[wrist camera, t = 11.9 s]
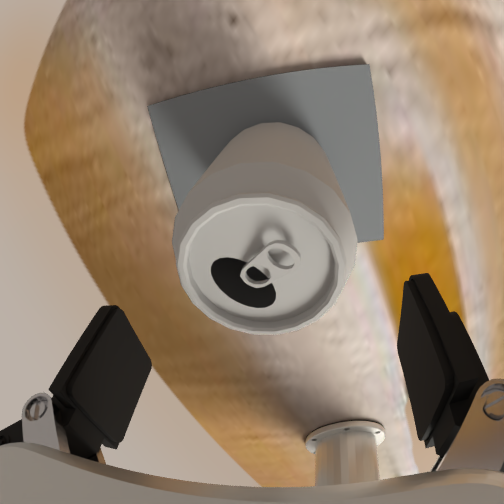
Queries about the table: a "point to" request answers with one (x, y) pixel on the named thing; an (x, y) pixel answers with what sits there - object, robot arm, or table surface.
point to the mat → (289, 112)
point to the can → (265, 233)
